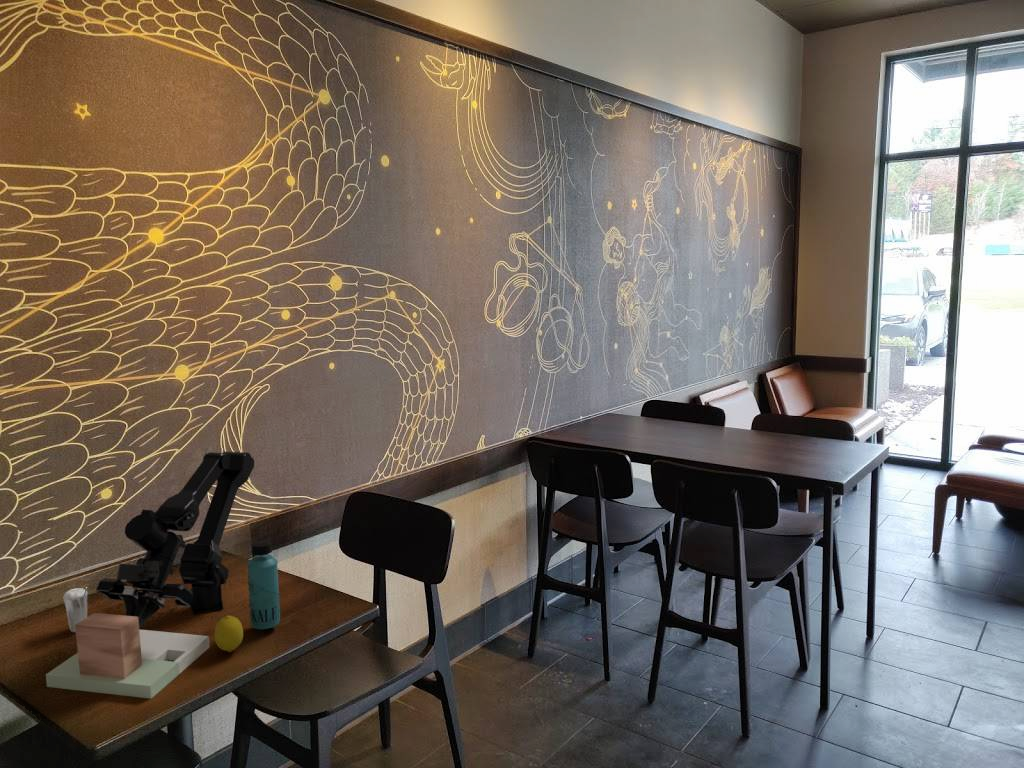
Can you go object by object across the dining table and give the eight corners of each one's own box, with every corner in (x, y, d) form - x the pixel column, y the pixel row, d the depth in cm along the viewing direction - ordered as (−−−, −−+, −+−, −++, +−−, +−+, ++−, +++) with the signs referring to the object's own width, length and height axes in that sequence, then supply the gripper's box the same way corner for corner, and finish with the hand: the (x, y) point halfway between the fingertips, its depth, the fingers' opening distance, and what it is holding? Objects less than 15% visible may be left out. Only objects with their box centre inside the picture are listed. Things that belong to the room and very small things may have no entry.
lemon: (227, 661, 152) (225, 624, 150) (209, 654, 155) (207, 617, 153) (249, 649, 156) (247, 613, 155) (232, 642, 159) (230, 607, 158)
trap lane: (115, 638, 161) (114, 627, 161) (209, 647, 157) (208, 636, 157) (46, 686, 143) (45, 674, 142) (151, 698, 139) (150, 686, 138)
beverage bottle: (269, 619, 170) (264, 534, 166) (288, 627, 166) (283, 541, 163) (244, 630, 164) (238, 543, 161) (262, 639, 161) (258, 550, 157)
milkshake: (83, 635, 162) (78, 591, 161) (61, 633, 163) (57, 589, 162) (98, 625, 167) (94, 583, 165) (77, 623, 168) (73, 580, 166)
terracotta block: (98, 660, 147) (94, 612, 146) (142, 665, 146) (138, 616, 144) (79, 674, 142) (75, 624, 141) (124, 678, 141) (120, 629, 139)
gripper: (97, 541, 152) (61, 617, 144) (180, 547, 149) (149, 626, 140) (126, 562, 161) (95, 635, 153) (206, 568, 158) (178, 643, 149)
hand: (128, 634), depth 149 cm, fingers closed
